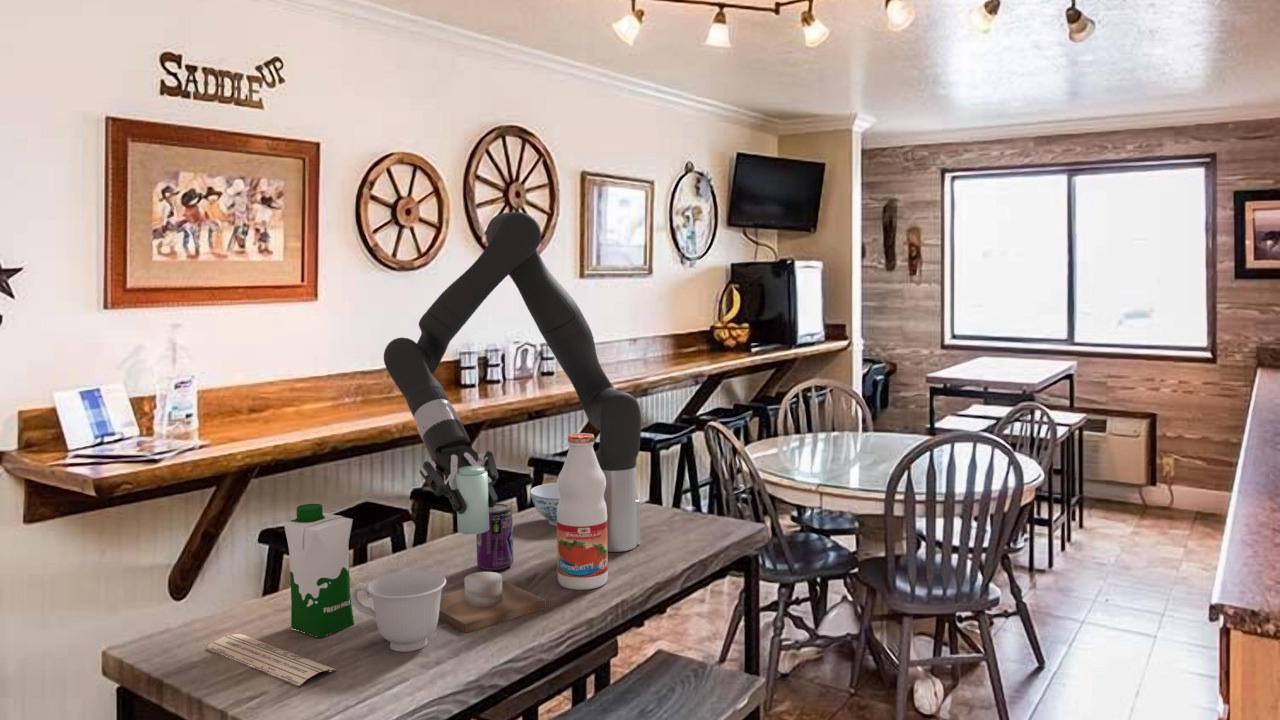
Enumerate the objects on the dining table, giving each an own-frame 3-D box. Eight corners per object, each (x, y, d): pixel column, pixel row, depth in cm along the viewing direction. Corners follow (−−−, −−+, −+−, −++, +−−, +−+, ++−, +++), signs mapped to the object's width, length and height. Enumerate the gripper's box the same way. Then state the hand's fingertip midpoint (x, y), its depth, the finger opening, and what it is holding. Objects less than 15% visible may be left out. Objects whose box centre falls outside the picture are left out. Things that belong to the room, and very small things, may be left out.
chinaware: (517, 523, 212) (516, 490, 211) (563, 510, 223) (563, 479, 222) (563, 535, 202) (562, 501, 201) (609, 521, 213) (608, 488, 212)
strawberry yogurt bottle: (607, 573, 177) (606, 430, 174) (607, 590, 167) (606, 439, 165) (558, 574, 176) (557, 430, 174) (556, 591, 167) (554, 440, 164)
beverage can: (506, 573, 177) (505, 512, 176) (471, 571, 179) (470, 510, 177) (518, 561, 184) (517, 503, 183) (484, 559, 185) (483, 501, 184)
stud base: (500, 587, 169) (500, 558, 169) (545, 608, 159) (544, 577, 158) (422, 609, 158) (421, 578, 158) (465, 632, 148) (464, 600, 148)
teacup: (365, 629, 150) (363, 569, 149) (455, 629, 149) (454, 570, 148) (338, 660, 138) (336, 596, 137) (437, 661, 137) (435, 596, 136)
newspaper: (206, 653, 142) (206, 642, 142) (248, 638, 148) (247, 627, 148) (301, 692, 129) (300, 680, 129) (342, 673, 135) (342, 662, 135)
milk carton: (326, 613, 157) (321, 498, 155) (362, 623, 152) (358, 506, 150) (282, 630, 149) (277, 510, 148) (319, 642, 145) (314, 518, 143)
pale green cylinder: (479, 523, 163) (477, 463, 162) (495, 529, 159) (493, 468, 157) (452, 529, 159) (449, 468, 158) (467, 536, 155) (465, 473, 154)
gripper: (411, 422, 158) (448, 503, 150) (483, 412, 167) (522, 488, 159) (398, 448, 162) (434, 528, 155) (469, 437, 172) (506, 512, 164)
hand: (478, 507), depth 157 cm, fingers closed on pale green cylinder, 5 cm apart
